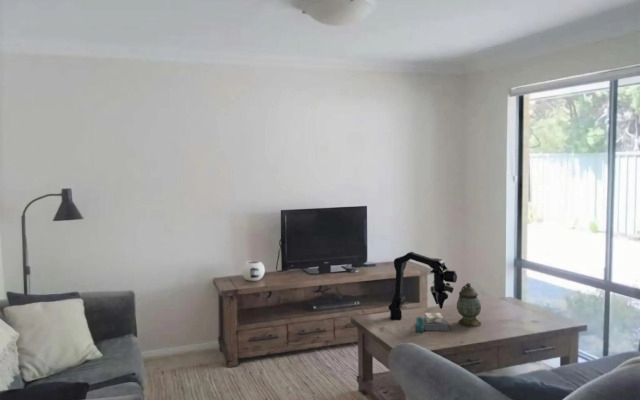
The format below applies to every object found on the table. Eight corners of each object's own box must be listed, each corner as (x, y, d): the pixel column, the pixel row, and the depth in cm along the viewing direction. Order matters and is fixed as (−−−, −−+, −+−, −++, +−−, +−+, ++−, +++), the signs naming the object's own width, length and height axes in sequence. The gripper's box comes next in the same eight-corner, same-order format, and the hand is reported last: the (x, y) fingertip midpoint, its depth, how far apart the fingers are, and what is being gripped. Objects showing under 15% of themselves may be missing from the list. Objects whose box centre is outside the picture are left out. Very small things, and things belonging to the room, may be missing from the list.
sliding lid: (427, 322, 293) (427, 317, 292) (424, 317, 302) (424, 313, 301) (443, 322, 292) (443, 317, 292) (439, 317, 301) (439, 312, 301)
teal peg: (417, 333, 287) (417, 319, 286) (415, 330, 291) (415, 317, 290) (424, 332, 286) (423, 319, 286) (422, 330, 290) (422, 317, 290)
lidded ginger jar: (482, 327, 292) (482, 286, 290) (457, 326, 295) (457, 285, 293) (479, 320, 306) (479, 280, 304) (456, 319, 309) (455, 280, 307)
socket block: (424, 330, 290) (424, 324, 290) (420, 322, 304) (420, 317, 304) (448, 330, 290) (448, 324, 290) (443, 322, 304) (443, 316, 304)
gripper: (456, 284, 285) (457, 310, 286) (448, 276, 304) (448, 301, 305) (437, 284, 285) (437, 311, 286) (429, 277, 303) (430, 302, 305)
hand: (439, 306), depth 295 cm, fingers open, 9 cm apart
